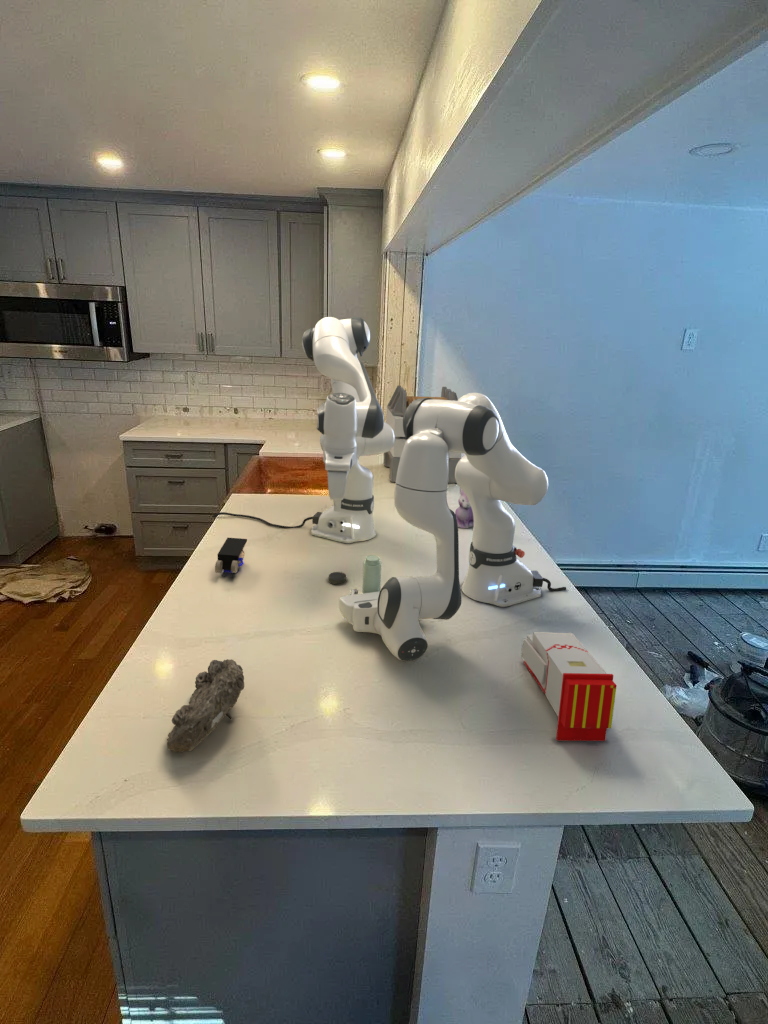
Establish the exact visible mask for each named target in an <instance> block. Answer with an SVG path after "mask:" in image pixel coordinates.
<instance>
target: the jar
mask: <svg viewBox="0 0 768 1024" xmlns="http://www.w3.org/2000/svg"><path fill="white" fill-rule="evenodd" d="M362 563H363V564H362V565H363V567H362V593H361V594H363V593H371V592H379V591H380V590H381V582H382V581H381V580H382V562H381V557H379V556H378V555H374V554H369V555H366V557H365V560H363V562H362Z"/></svg>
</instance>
